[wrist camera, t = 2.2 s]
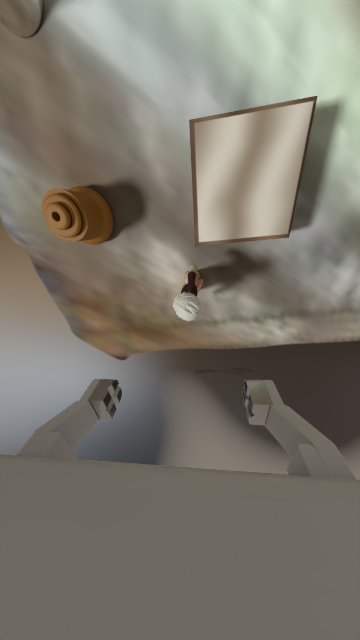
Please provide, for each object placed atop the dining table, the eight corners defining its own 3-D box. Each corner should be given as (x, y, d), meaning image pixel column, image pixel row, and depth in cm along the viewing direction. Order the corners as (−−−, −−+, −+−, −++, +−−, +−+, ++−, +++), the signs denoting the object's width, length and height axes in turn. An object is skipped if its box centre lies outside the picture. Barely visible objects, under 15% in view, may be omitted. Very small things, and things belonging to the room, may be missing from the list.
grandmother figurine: (201, 299, 32) (203, 340, 21) (181, 299, 32) (172, 339, 21) (203, 257, 28) (207, 279, 17) (180, 257, 28) (169, 279, 18)
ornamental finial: (122, 238, 28) (82, 247, 29) (104, 182, 24) (59, 194, 26) (97, 244, 21) (46, 255, 22) (67, 166, 17) (9, 185, 19)
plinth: (294, 119, 20) (321, 91, 15) (275, 235, 26) (291, 237, 21) (190, 138, 21) (189, 116, 17) (195, 242, 27) (195, 246, 23)
